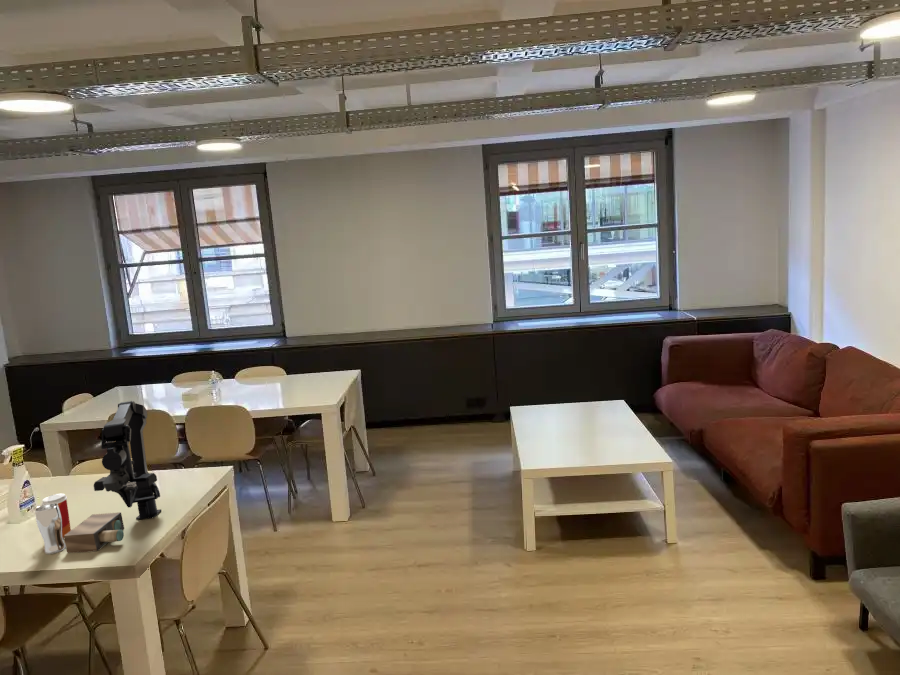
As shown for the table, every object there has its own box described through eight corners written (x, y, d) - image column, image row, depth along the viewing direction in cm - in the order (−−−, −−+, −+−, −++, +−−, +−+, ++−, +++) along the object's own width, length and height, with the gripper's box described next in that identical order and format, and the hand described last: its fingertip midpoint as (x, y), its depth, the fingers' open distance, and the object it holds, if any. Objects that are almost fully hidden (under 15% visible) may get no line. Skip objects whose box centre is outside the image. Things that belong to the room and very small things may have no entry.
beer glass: (71, 543, 226) (62, 501, 224) (60, 553, 219) (51, 510, 217) (50, 546, 226) (41, 503, 224) (38, 556, 219) (29, 512, 217)
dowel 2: (96, 529, 233) (94, 520, 232) (121, 528, 232) (119, 518, 231) (90, 534, 229) (88, 524, 228) (116, 532, 228) (114, 522, 228)
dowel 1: (98, 539, 224) (96, 529, 224) (124, 537, 224) (122, 527, 223) (92, 544, 221) (89, 534, 220) (118, 543, 220) (116, 532, 219)
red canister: (46, 537, 234) (38, 498, 232) (70, 528, 239) (62, 491, 237) (52, 542, 229) (44, 503, 226) (77, 534, 234) (69, 495, 231)
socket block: (95, 530, 235) (92, 514, 234) (124, 528, 234) (121, 512, 233) (67, 553, 219) (63, 535, 218) (97, 551, 218) (94, 533, 217)
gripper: (78, 471, 212) (88, 519, 214) (135, 467, 211) (144, 514, 213) (99, 460, 223) (108, 505, 225) (153, 455, 222) (161, 501, 224)
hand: (129, 507), depth 222 cm, fingers closed
